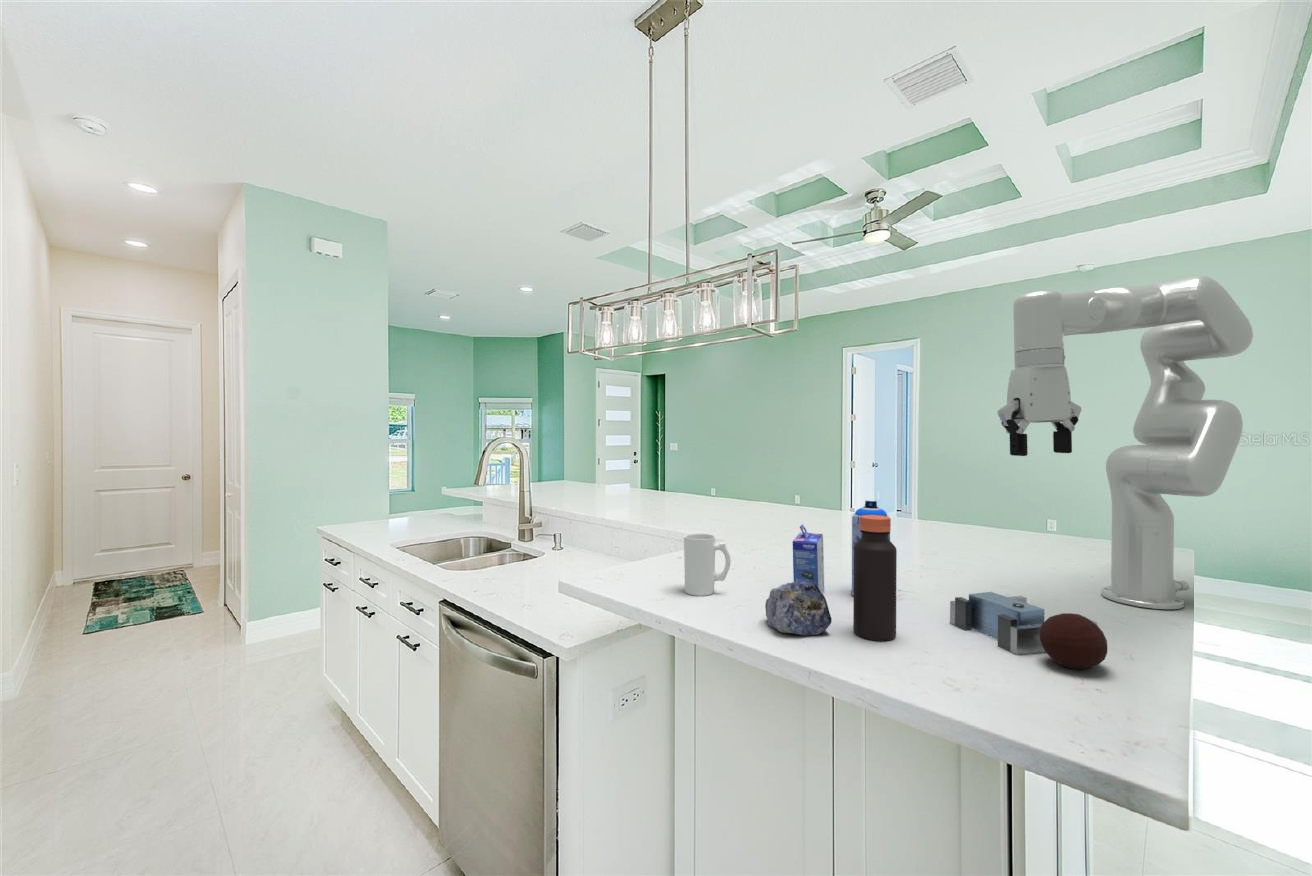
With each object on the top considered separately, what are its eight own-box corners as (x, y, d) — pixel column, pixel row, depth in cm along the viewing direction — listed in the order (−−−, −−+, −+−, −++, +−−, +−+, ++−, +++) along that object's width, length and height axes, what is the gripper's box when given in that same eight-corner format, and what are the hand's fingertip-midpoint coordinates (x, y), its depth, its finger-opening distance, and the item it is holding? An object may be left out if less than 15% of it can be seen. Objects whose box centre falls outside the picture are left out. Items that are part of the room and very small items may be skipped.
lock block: (990, 625, 99) (991, 590, 99) (1044, 646, 90) (1044, 607, 89) (968, 628, 98) (968, 593, 98) (1020, 649, 88) (1020, 610, 88)
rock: (845, 620, 94) (814, 568, 95) (797, 655, 91) (766, 601, 92) (816, 612, 104) (789, 566, 105) (773, 644, 102) (745, 595, 102)
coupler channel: (1021, 617, 103) (1021, 590, 103) (1096, 647, 89) (1097, 616, 88) (950, 623, 100) (950, 595, 100) (1016, 654, 86) (1017, 622, 86)
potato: (1023, 659, 84) (1024, 608, 84) (1069, 652, 87) (1070, 603, 87) (1077, 682, 76) (1077, 626, 76) (1126, 674, 79) (1126, 620, 79)
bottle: (887, 645, 90) (887, 521, 89) (846, 634, 94) (847, 517, 94) (902, 633, 95) (902, 516, 94) (862, 624, 99) (863, 512, 99)
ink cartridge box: (798, 586, 123) (799, 521, 123) (824, 589, 121) (824, 523, 121) (791, 598, 114) (791, 528, 114) (819, 602, 112) (819, 530, 112)
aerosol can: (848, 598, 114) (849, 501, 114) (852, 588, 122) (853, 497, 121) (890, 603, 111) (890, 504, 111) (891, 593, 118) (892, 499, 118)
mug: (680, 595, 117) (680, 538, 117) (688, 586, 123) (688, 532, 123) (727, 599, 114) (727, 541, 114) (733, 590, 120) (733, 535, 120)
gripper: (1059, 362, 107) (1060, 451, 107) (982, 364, 103) (984, 455, 104) (1097, 357, 100) (1099, 452, 100) (1016, 359, 96) (1018, 457, 96)
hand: (1040, 454), depth 102 cm, fingers open, 9 cm apart
